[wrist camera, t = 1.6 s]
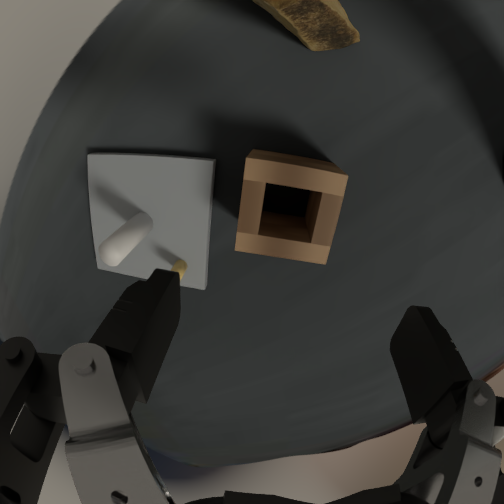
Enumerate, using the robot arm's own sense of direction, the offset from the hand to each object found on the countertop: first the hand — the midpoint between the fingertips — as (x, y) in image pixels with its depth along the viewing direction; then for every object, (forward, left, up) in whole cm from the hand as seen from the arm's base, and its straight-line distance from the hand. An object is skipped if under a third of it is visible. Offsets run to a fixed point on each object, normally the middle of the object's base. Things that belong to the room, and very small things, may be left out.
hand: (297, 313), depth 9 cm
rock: (+2, -16, -15) cm, 22 cm away
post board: (+12, +4, -15) cm, 19 cm away
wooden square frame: (0, 0, -15) cm, 15 cm away
